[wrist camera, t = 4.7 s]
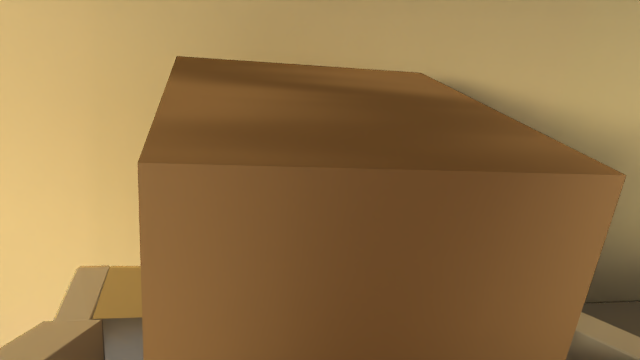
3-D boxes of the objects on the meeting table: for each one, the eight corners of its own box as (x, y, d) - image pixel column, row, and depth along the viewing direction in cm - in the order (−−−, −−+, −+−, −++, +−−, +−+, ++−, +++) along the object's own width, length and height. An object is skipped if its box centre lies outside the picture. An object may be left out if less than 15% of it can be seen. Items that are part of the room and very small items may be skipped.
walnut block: (176, 385, 13) (152, 693, 7) (176, 56, 10) (137, 162, 5) (371, 373, 14) (474, 635, 8) (420, 72, 11) (625, 176, 6)
